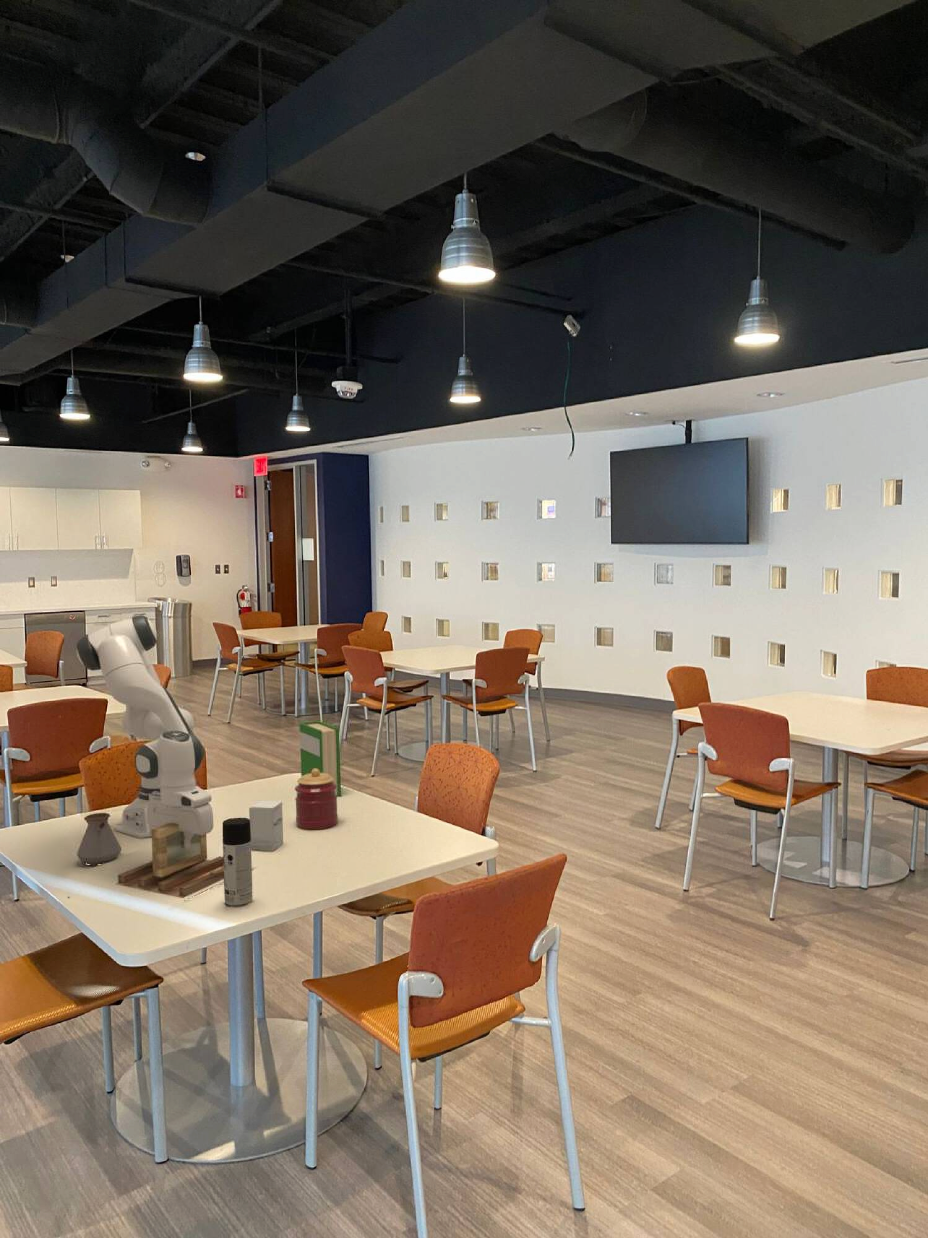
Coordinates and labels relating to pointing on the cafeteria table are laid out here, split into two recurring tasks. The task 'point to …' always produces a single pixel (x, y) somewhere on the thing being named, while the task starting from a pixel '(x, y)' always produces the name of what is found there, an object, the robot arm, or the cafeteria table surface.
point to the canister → (316, 801)
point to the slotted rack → (175, 878)
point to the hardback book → (320, 750)
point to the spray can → (237, 861)
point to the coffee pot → (98, 841)
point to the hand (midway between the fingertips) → (180, 846)
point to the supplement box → (266, 825)
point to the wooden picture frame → (175, 849)
